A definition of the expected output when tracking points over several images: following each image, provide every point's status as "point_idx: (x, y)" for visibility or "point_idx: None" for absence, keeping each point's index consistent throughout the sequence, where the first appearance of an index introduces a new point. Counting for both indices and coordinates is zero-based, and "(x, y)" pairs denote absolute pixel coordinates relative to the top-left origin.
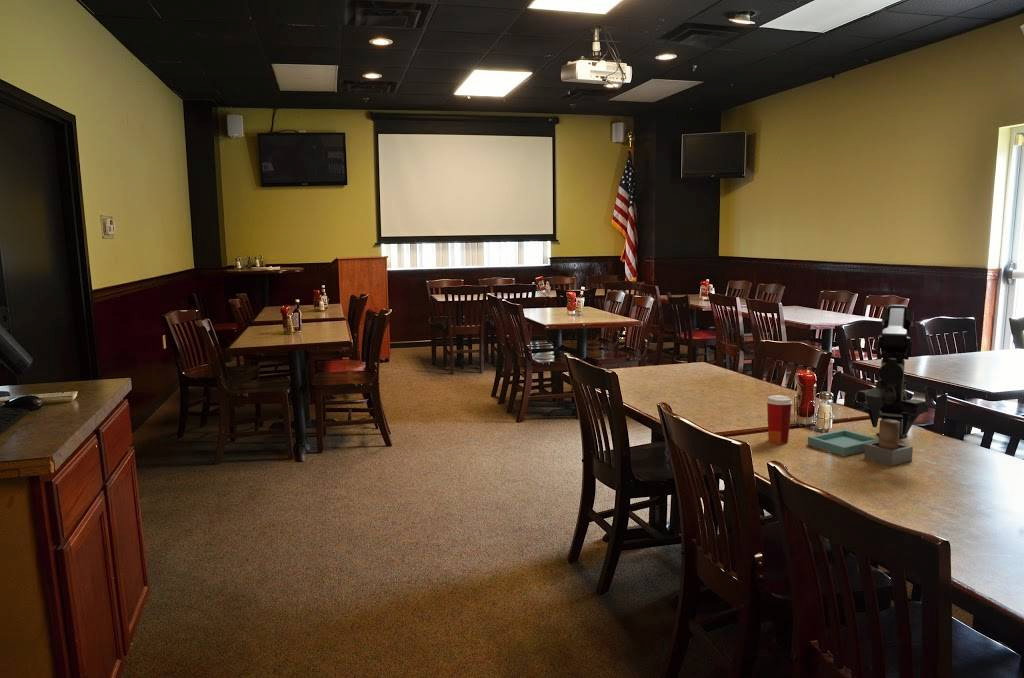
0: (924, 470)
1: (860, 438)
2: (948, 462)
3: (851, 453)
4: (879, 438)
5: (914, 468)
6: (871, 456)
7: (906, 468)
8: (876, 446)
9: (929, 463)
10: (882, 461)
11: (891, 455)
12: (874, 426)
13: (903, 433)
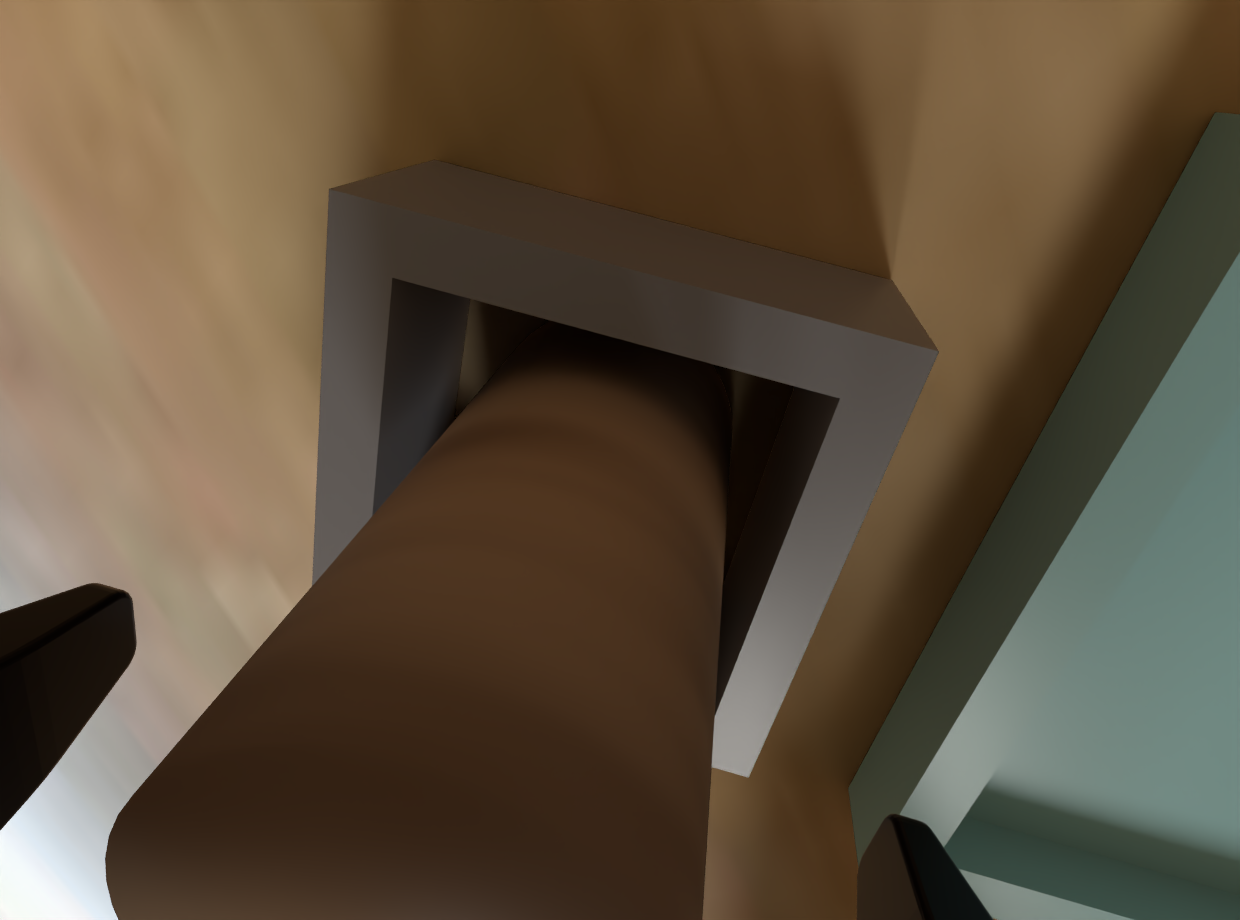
0: (108, 272)
1: (1140, 881)
2: (174, 682)
3: (1121, 303)
4: (681, 512)
5: (213, 267)
6: (770, 259)
7: (263, 192)
8: (695, 335)
9: (242, 557)
10: (580, 203)
11: (380, 182)
12: (890, 837)
13: (72, 599)
